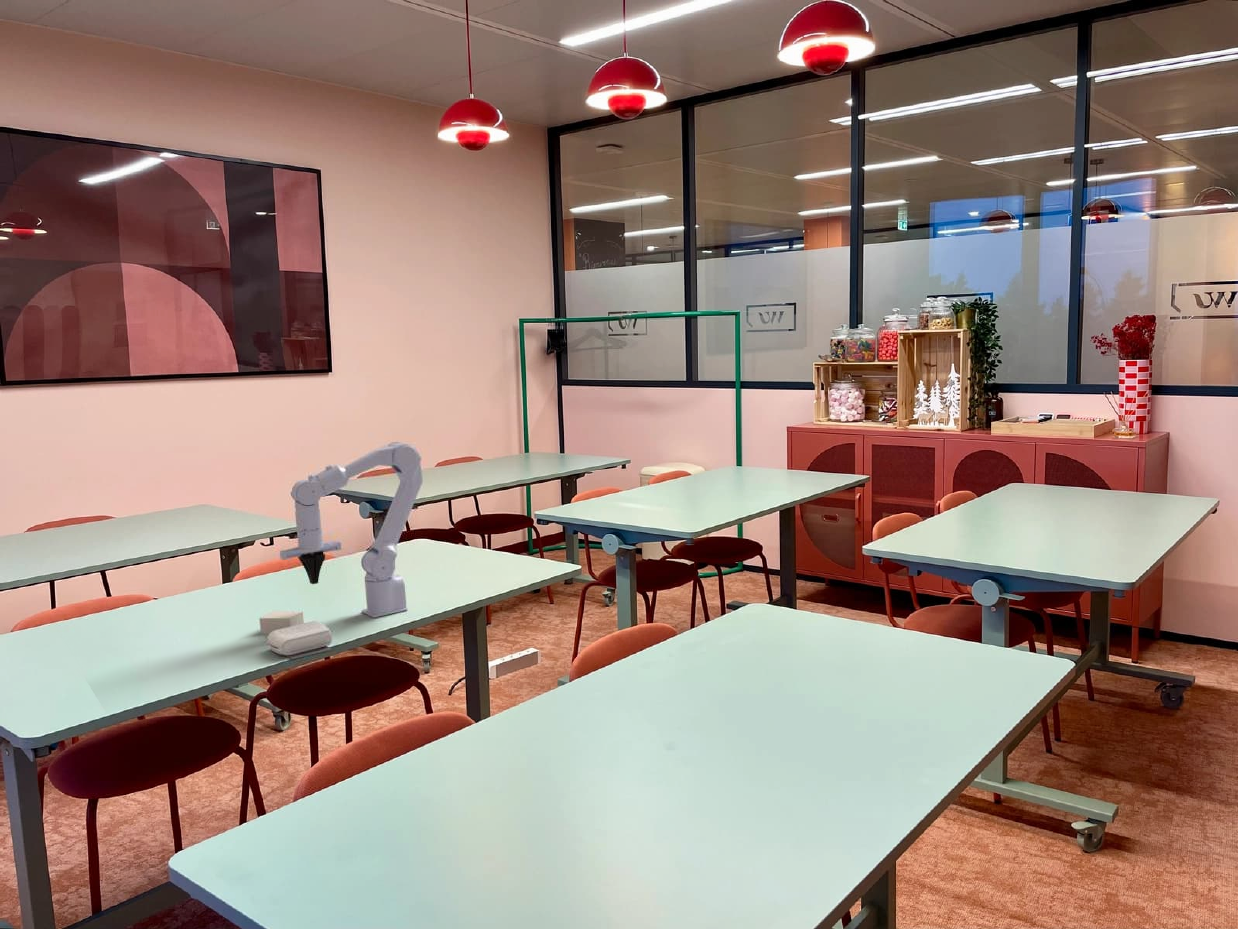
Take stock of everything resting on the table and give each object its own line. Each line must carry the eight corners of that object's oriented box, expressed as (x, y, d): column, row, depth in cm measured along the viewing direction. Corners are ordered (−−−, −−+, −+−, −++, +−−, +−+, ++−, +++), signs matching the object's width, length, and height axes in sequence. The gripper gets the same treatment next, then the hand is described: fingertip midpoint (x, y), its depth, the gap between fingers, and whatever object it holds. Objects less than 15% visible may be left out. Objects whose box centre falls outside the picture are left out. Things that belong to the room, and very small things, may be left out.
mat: (310, 636, 217) (310, 635, 217) (331, 650, 206) (331, 649, 206) (271, 645, 212) (271, 644, 212) (291, 659, 201) (291, 659, 201)
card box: (274, 626, 228) (273, 611, 227) (304, 627, 226) (302, 611, 226) (260, 634, 222) (259, 618, 222) (291, 634, 221) (289, 618, 220)
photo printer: (316, 636, 216) (263, 649, 209) (314, 618, 216) (261, 631, 208) (333, 646, 208) (279, 660, 201) (332, 628, 208) (277, 641, 200)
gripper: (332, 522, 232) (336, 574, 234) (273, 531, 223) (279, 586, 225) (342, 526, 226) (347, 579, 228) (283, 535, 218) (288, 591, 219)
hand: (314, 583), depth 226 cm, fingers closed
